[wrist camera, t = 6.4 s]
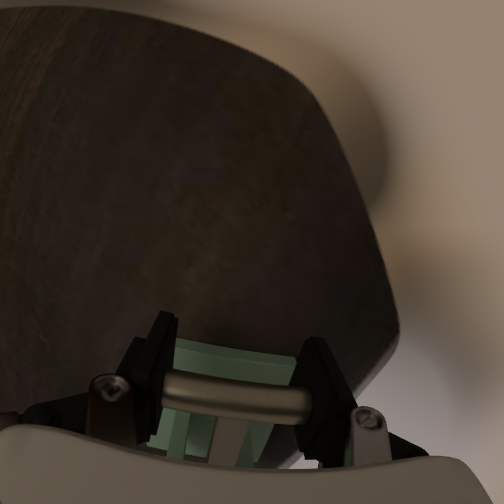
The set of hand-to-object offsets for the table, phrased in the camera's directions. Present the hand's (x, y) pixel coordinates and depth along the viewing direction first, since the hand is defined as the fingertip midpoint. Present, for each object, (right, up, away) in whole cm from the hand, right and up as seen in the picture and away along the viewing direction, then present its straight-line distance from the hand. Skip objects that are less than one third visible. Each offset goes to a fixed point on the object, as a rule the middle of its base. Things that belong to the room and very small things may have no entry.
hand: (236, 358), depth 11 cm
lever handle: (-1, -6, 0) cm, 6 cm away
